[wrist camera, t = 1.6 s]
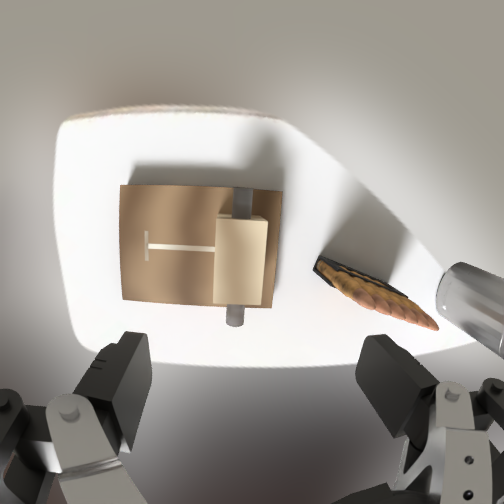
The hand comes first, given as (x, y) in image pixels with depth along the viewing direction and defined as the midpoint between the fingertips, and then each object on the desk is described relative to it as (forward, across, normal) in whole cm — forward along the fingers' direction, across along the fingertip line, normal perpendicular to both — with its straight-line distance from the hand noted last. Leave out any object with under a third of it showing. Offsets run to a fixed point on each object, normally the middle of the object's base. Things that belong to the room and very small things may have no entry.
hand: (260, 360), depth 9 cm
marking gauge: (+18, 0, 0) cm, 18 cm away
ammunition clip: (+20, -14, +3) cm, 25 cm away
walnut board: (+20, +4, 0) cm, 20 cm away
